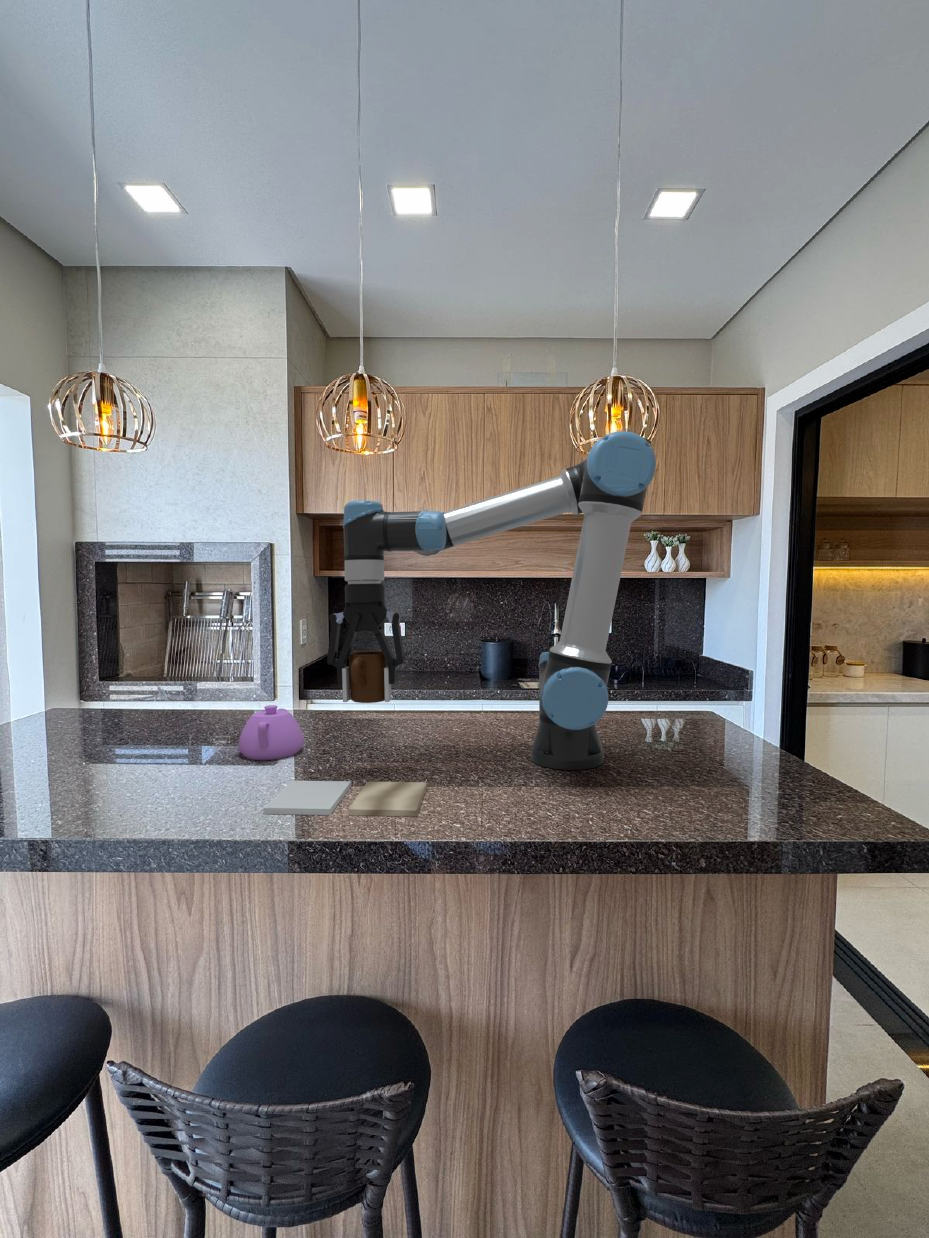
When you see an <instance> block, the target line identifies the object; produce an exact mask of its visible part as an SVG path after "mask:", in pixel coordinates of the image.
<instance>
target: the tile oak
mask: <svg viewBox="0 0 929 1238" xmlns="http://www.w3.org/2000/svg"><path fill="white" fill-rule="evenodd" d="M427 787H428V785H427V782H426V781H425V782H423V781H422V782H421V781H420V782H419V781H418V782H417V781H416V782H415V781H414V782H413V781H410V782H409V781H408V782H407V781H367V782H366V783H365V784H364V785H363V786H362V788H361V790H360V792H359V793H358V794H357V796H356V797H355V799H354V800H353V802H352V803H351V805H349V808H348V811H347V812H348V816H356V817H357V816H359V817H361V816H362V817H363V816H364V817H367V816H369V817H371V816H372V817H417V816H418V813H419V810H420V808H421V805H422V801H423V799H424V797H425V793H426V791H427Z"/></svg>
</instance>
